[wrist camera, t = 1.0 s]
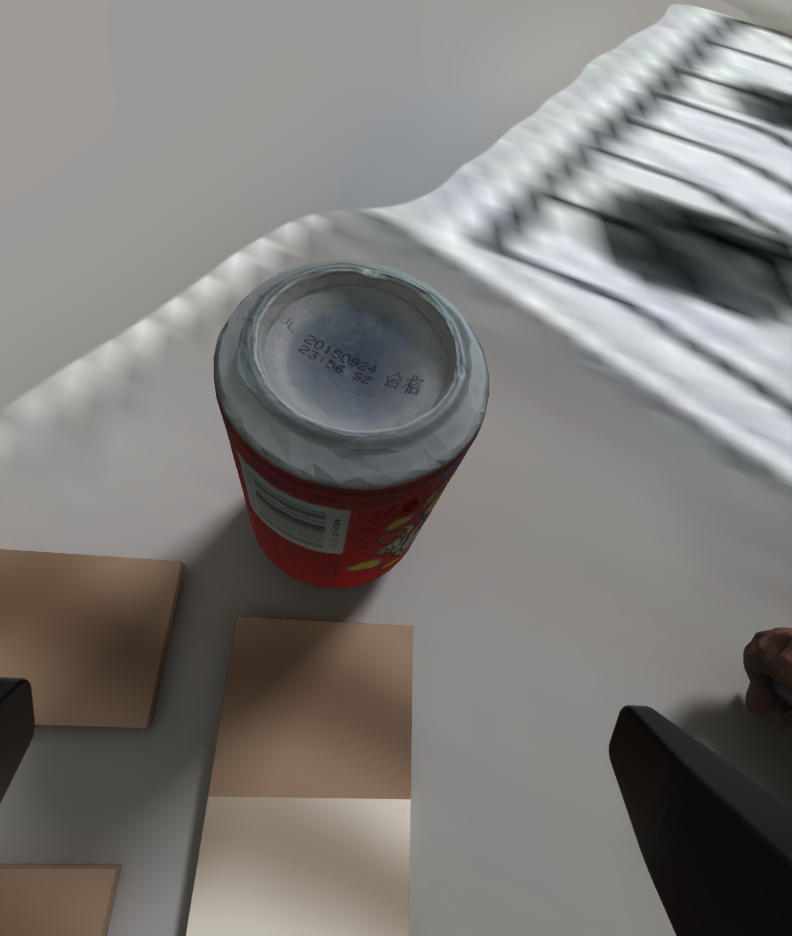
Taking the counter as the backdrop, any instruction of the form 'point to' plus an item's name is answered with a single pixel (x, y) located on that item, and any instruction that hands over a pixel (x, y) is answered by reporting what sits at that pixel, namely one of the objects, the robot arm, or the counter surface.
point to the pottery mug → (770, 676)
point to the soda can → (346, 413)
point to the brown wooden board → (309, 784)
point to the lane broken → (80, 695)
